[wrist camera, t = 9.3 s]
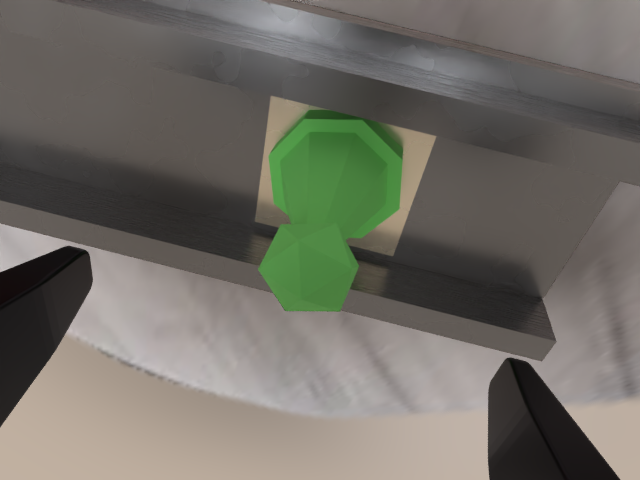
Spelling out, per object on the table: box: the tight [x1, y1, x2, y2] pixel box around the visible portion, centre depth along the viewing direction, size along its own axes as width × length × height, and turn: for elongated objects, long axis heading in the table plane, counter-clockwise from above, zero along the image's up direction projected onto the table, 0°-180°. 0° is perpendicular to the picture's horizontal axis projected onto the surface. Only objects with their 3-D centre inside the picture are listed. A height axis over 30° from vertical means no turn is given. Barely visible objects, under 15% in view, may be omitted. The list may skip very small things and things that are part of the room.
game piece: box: [258, 110, 403, 312], centre depth 12 cm, size 4×4×6 cm
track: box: [0, 0, 640, 361], centre depth 15 cm, size 24×9×3 cm, turn 79°
